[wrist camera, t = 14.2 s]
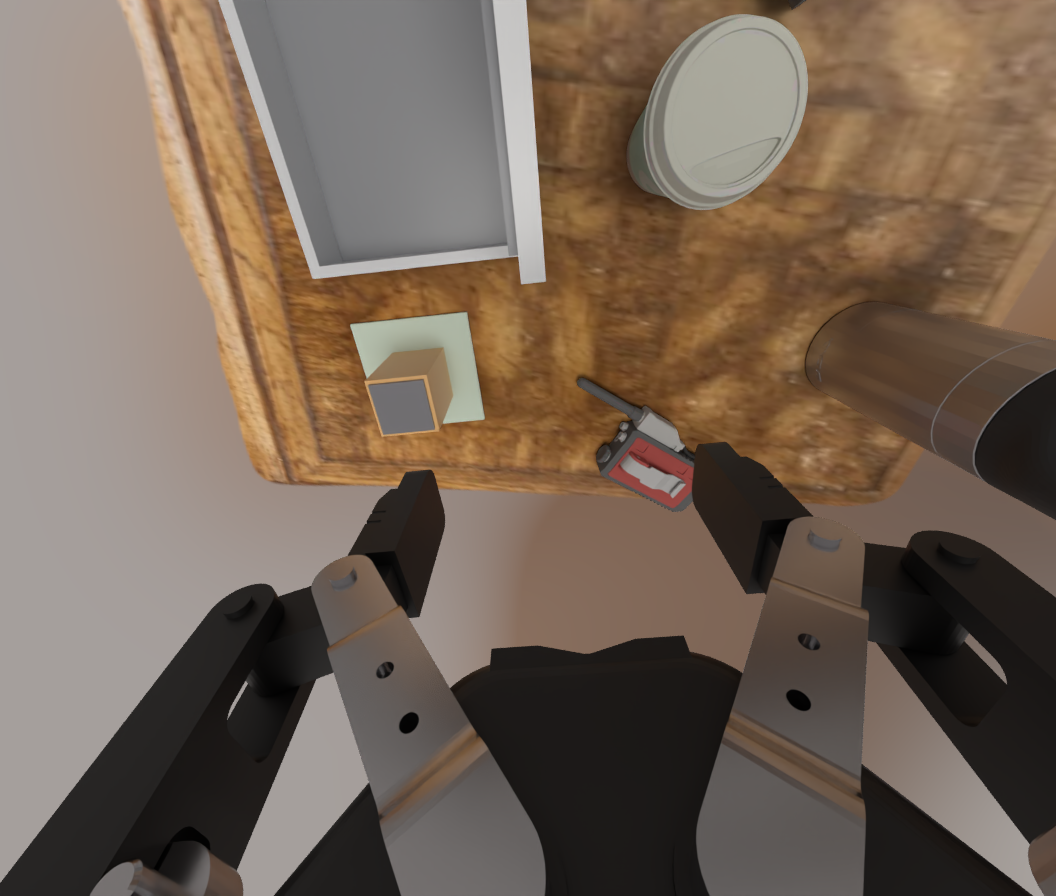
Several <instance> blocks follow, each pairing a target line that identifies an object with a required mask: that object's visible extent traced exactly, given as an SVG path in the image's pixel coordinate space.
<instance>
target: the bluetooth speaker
mask: <svg viewBox="0 0 1056 896" xmlns="http://www.w3.org/2000/svg"><path fill="white" fill-rule="evenodd" d="M788 1H789V4H790V7H791V10H793V9H794V8H796V7H797V6H799V5H800V4H802V3H803V2H804V1H806V0H788Z"/></svg>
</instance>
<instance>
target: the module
mask: <svg viewBox="0 0 1056 896" xmlns="http://www.w3.org/2000/svg"><path fill="white" fill-rule="evenodd" d="M364 382H365V385H366V388H367V391H368V394H369V398H370V401H371V404H372V407H373V410H374V413H375V416H376V420H377V423H378V426H379V429H380V432H381V435H382V437H383V436H393V435H404V434H414V433H425V432H435V431H440V429H441V426H442V424H443V421H444V418H445V416H446V413H447V411H448V408H449V406H450V403H451V400H452V398H453V391H452V387H451V382H450V377H449V372H448V367H447V362H446V357H445V352H444V347H443V348H433V349H423V350H414V351H404V352H394V353H392V354H391V355H390V356H389V357H388V358H387V359H386V360H385V361H384V362H383V363H382V364H381V365H380V366H379V367H378V368H377V369H376V370H375V371H374V372H373V373H372V374H371V375H370V376H369V377H368V378H367V379H366V380H365V381H364Z"/></svg>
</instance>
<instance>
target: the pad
mask: <svg viewBox="0 0 1056 896" xmlns="http://www.w3.org/2000/svg"><path fill="white" fill-rule="evenodd" d="M350 326H351V329H352V333H353V336H354V339H355V342H356V345H357V349H358V352H359V355H360V358H361V361H362V365H363V368H364V371H365V374H366V377H367V378H368V377H369V376H370V375H371V374H372V373H373V372H374V371H375V370H376V369H377V368H378V367H379V366H380V365H381V364H382V363H383V362H384V361H385V360H386V359H387V358H388V357H389V356H390V355H391V354H392V353H394V352H404V351H414V350H423V349H433V348H443V347H444V352H445V357H446V362H447V367H448V372H449V377H450V382H451V387H452V391H453V398H452V400H451V403H450V406H449V408H448V411H447V413H446V416H445V418H444V421H443V423H453V422H463V421H474V420H484V419H485V416H484V410H483V404H482V398H481V392H480V386H479V380H478V374H477V368H476V362H475V356H474V350H473V344H472V338H471V332H470V326H469V320H468V314H467V312H458V313H449V314H439V315H430V316H420V317H411V318H402V319H392V320H383V321H373V322H364V323H355V324H350Z"/></svg>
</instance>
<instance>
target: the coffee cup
mask: <svg viewBox="0 0 1056 896" xmlns="http://www.w3.org/2000/svg"><path fill="white" fill-rule="evenodd" d="M807 94H808V74H807V67H806V62H805V59H804V55H803V52H802V50H801V48H800V45H799V44H798V42H797V40H796V38H795V37H794V36H793V35H792V33H791V32H790V31H789V30H788V29H787V28H786V27H784V26H783V25H782V24H780V23H779V22H777V21H775V20H773V19H770V18H767V17H762V16H756V15H750V14H738V15H731V16H727V17H724V18H721V19H718V20H716V21H714V22H712V23H709V24H707V25H705V26H704V27H702V28H700V29H699V30H697V31H696V32H694V33H693V34H692V35H690V36H689V37H688V38H687V39H686V40H685V41H684V42H683V43H682V44H681V45H680V46H679V47H678V48H677V49H676V50H675V51H674V52H673V54H672V55H671V56H670V58H669V59H668V60H667V62H666V63H665V65H664V67H663V68H662V70H661V72H660V74H659V76H658V78H657V80H656V82H655V84H654V86H653V89H652V92H651V95H650V98H649V101H648V104H647V105H646V107H645V109H644V111H643V112H642V114H641V116H640V118H639V119H638V121H637V123H636V125H635V127H634V128H633V130H632V133H631V135H630V138H629V141H628V146H627V166H628V170H629V173H630V175H631V177H632V179H633V181H634V182H635V183H636V184H637V186H639V187H640V188H641V189H642V190H644V191H646V192H648V193H652V194H656V195H659V196H664V197H668V198H670V199H671V200H672V201H674V202H676V203H677V204H679V205H681V206H684V207H687V208H691V209H697V210H709V209H716V208H720V207H723V206H726V205H728V204H731V203H733V202H735V201H737V200H738V199H740V198H742V197H744V196H745V195H747V194H749V193H750V192H751V191H753V190H754V189H755V188H757V187H758V186H759V185H760V184H761V183H762V182H763V181H764V180H765V179H766V178H767V177H768V176H769V175H770V174H771V172H772V171H773V170H774V169H775V168H776V166H777V165H778V164H779V163H780V162H781V160H782V159H783V158H784V156H785V155H786V153H787V152H788V150H789V149H790V147H791V145H792V143H793V141H794V139H795V137H796V135H797V133H798V130H799V128H800V125H801V122H802V119H803V116H804V112H805V107H806V102H807Z"/></svg>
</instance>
